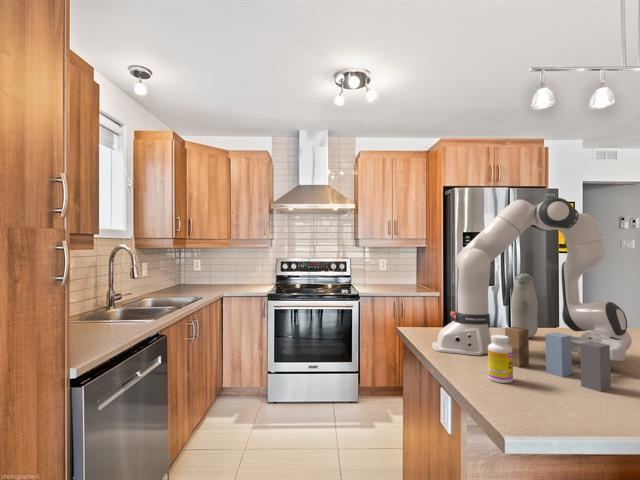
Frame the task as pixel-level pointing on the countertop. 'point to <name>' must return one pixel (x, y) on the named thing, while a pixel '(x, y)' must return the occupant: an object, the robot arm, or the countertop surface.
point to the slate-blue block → (558, 354)
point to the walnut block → (518, 345)
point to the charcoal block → (595, 366)
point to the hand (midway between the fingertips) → (571, 349)
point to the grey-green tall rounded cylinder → (524, 304)
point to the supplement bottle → (500, 360)
